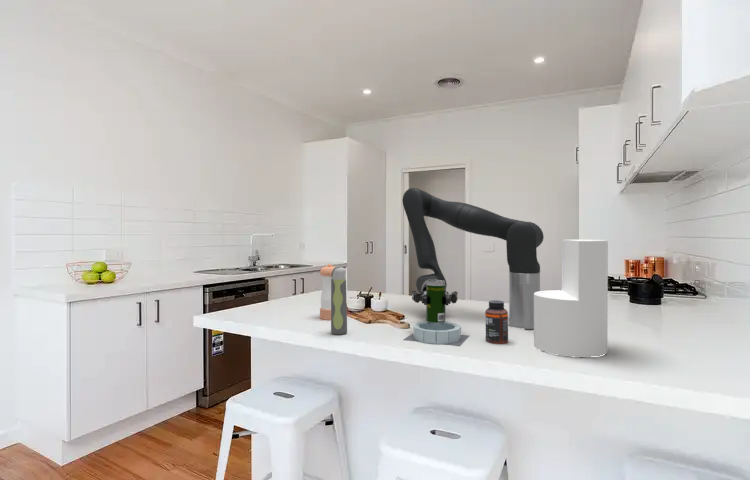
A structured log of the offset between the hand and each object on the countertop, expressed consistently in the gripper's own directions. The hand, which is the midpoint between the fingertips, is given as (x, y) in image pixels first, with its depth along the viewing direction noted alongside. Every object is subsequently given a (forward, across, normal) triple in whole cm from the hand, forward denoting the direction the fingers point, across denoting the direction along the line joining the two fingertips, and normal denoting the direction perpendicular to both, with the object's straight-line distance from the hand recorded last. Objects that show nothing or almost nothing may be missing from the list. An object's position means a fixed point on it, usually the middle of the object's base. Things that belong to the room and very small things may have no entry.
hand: (436, 301), depth 116 cm
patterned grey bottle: (-7, -29, +12) cm, 32 cm away
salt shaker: (-29, -36, +12) cm, 48 cm away
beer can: (-3, 0, +7) cm, 7 cm away
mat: (-2, 0, +11) cm, 11 cm away
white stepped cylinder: (+5, +34, +11) cm, 36 cm away
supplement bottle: (0, +16, +11) cm, 20 cm away
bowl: (-2, 0, +11) cm, 11 cm away
